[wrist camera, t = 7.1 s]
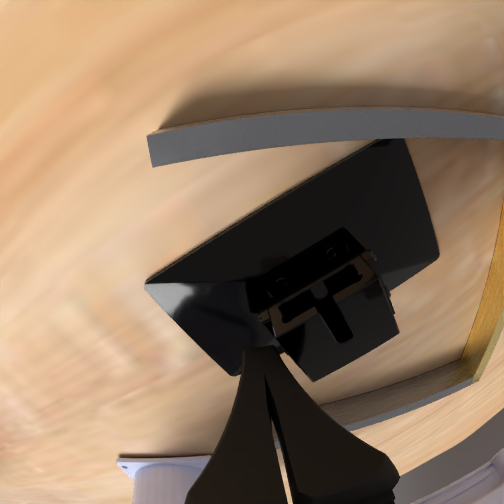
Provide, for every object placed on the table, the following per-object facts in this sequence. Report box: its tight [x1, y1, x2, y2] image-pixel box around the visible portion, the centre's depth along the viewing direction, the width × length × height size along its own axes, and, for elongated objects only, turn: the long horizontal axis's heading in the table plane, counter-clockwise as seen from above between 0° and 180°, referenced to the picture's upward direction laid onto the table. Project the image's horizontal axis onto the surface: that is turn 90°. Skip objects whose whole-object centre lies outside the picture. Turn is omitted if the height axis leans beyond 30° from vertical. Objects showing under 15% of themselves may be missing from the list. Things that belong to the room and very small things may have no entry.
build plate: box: [144, 138, 440, 382], centre depth 12 cm, size 12×7×5 cm, turn 121°
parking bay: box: [147, 106, 504, 449], centre depth 14 cm, size 18×18×2 cm
